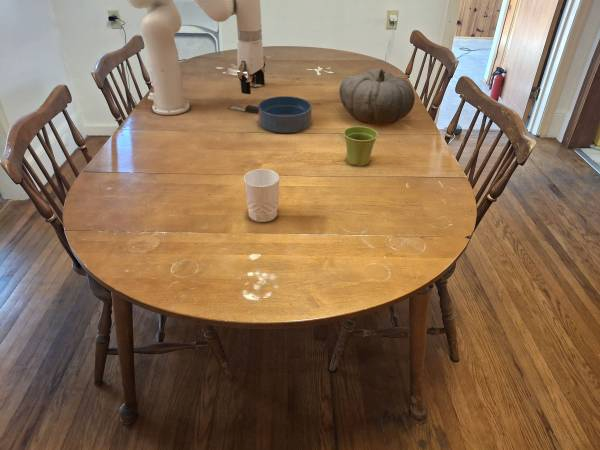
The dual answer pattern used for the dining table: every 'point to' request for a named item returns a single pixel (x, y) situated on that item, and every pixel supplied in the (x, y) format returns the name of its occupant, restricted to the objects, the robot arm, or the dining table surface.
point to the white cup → (262, 194)
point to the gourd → (377, 97)
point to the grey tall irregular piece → (253, 81)
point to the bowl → (285, 114)
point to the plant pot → (359, 144)
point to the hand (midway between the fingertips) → (253, 88)
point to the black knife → (247, 108)
